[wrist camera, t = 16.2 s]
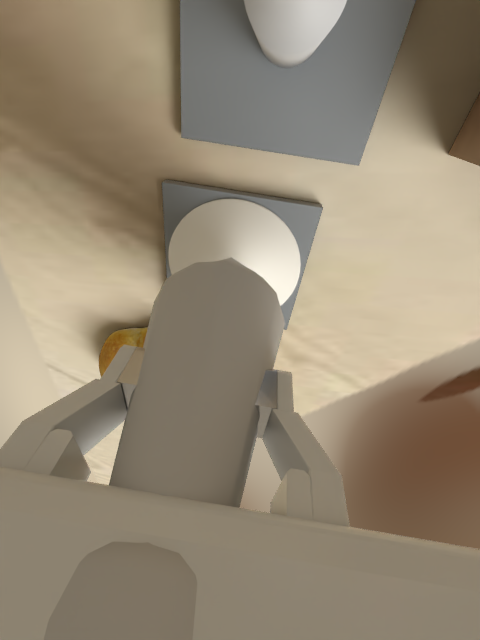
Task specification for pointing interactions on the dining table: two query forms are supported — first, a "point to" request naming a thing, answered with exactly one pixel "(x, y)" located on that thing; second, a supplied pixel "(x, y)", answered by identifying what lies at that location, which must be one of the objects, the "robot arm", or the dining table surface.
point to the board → (288, 72)
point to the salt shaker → (179, 446)
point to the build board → (240, 233)
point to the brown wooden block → (469, 137)
